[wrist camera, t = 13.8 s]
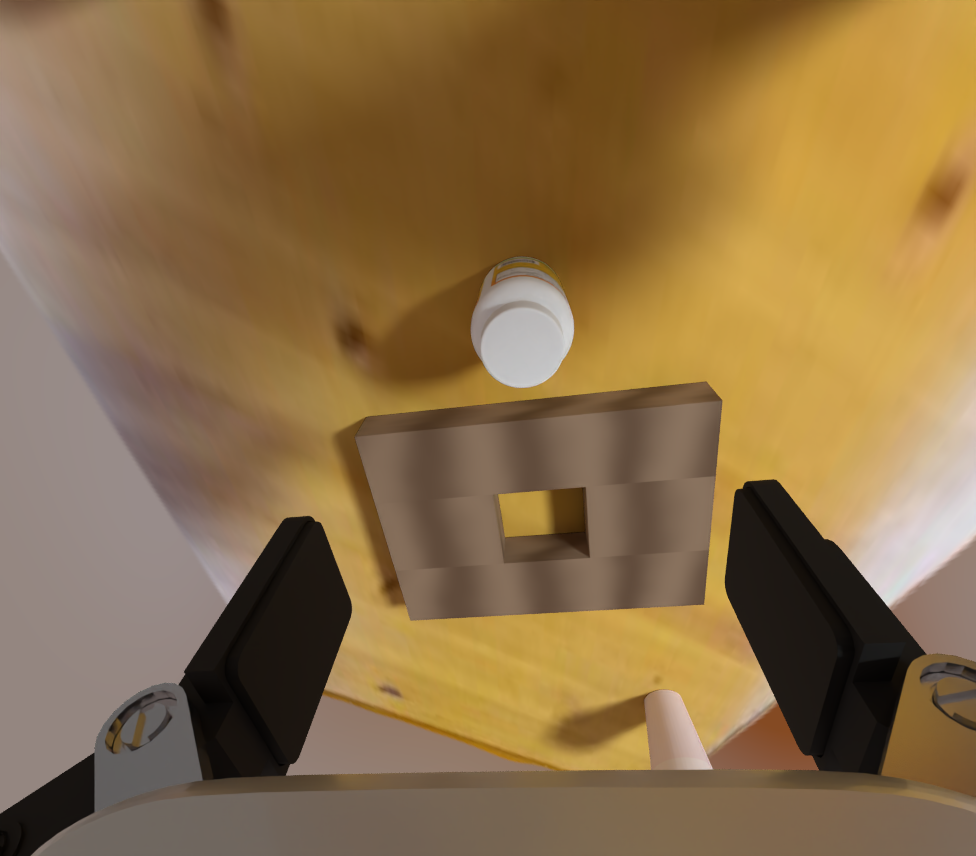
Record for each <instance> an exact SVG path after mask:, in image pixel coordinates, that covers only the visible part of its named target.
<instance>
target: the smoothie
mask: <svg viewBox="0 0 976 856" xmlns="http://www.w3.org/2000/svg"><path fill="white" fill-rule="evenodd" d="M644 705H645V714H646V724H647V734H648V743H649V753H650V763H651V770H707V769H713V768H712V766H711V764H710V762H709V759H708V757H707V755H706V753H705V750H704V748H703V746H702V744H701V741H700V739H699V737H698V734H697V732H696V730H695V728H694V725H693V723H692V721H691V719H690V716H689V714H688V712H687V709H686V707H685V705H684V703H683V700H682V698H681V696H680V695H679V694H678V693H676V692H674V691H671V690H657V691H654V692H652V693H650V694H648V695H647V696H646V698H645V700H644Z"/></svg>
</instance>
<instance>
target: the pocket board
mask: <svg viewBox="0 0 976 856" xmlns="http://www.w3.org/2000/svg"><path fill="white" fill-rule="evenodd" d="M721 410H722V400H721V398H720V397H719V396H718V395H717V394H716V392H715V391H714V390H713V389H712V388H711V387H710V385H709V384H708V383H707V382H699V383H689V384H679V385H670V386H660V387H650V388H641V389H631V390H621V391H612V392H602V393H593V394H583V395H573V396H564V397H554V398H544V399H535V400H525V401H515V402H506V403H496V404H486V405H477V406H467V407H457V408H448V409H438V410H428V411H419V412H409V413H399V414H390V415H380V416H370V417H366V418H365V420H364V422H363V424H362V425H361V427H360V429H359V430H358V432H357V434H356V435H355V440H356V443H357V447H358V450H359V453H360V457H361V460H362V463H363V466H364V470H365V473H366V476H367V479H368V483H369V486H370V489H371V493H372V496H373V499H374V502H375V506H376V509H377V512H378V515H379V519H380V522H381V525H382V529H383V532H384V535H385V538H386V542H387V545H388V548H389V551H390V555H391V558H392V561H393V565H394V568H395V571H396V574H397V578H398V581H399V584H400V587H401V591H402V594H403V597H404V601H405V604H406V607H407V610H408V614H409V617H410V620H429V619H447V618H466V617H484V616H502V615H521V614H539V613H558V612H576V611H594V610H613V609H631V608H650V607H668V606H686V605H704V599H705V588H706V577H707V566H708V555H709V544H710V532H711V521H712V510H713V499H714V488H715V477H716V466H717V455H718V444H719V433H720V421H721ZM578 487H583V502H584V518H585V532H577V533H563V534H549V535H536V536H522V537H508V538H505V535H504V529H503V523H502V517H501V510H500V504H499V498H498V494H506V493H518V492H530V491H542V490H554V489H566V488H578Z"/></svg>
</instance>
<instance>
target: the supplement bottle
mask: <svg viewBox="0 0 976 856" xmlns="http://www.w3.org/2000/svg"><path fill="white" fill-rule="evenodd" d="M573 335H574V320H573V316H572V312H571V308H570V306H569V303H568V301H567V298H566V295H565V292H564V289H563V287H562V284H561V282H560V280H559V278H558V276H557V275H556V273H555V272H554V271H553V270H552V269H551V268H550V267H549V266H548V265H547V264H545V263H544V262H542V261H540V260H537V259H534V258H531V257H513V258H510V259H507V260H504V261H502V262H501V263H499V264H497V265H496V266H495V267H494V268H493V269H492V270H491V271H490V272H489V273H488V274H487V276H486V277H485V279H484V281H483V283H482V285H481V288H480V292H479V295H478V299H477V302H476V305H475V308H474V312H473V315H472V321H471V338H472V343H473V346H474V349H475V351H476V353H477V355H478V356H479V358H480V359H481V360H482V362H483V364H484V366H485V368H486V369H487V371H488V372H489V373H490V375H491V376H492V377H494V378H495V379H496V380H497V381H499V382H501V383H502V384H505V385H507V386H511V387H516V388H527V387H532V386H536V385H538V384H541V383H543V382H544V381H546V380H547V379H549V378H550V377H551V376H552V375H553V374H554V373H555V372H556V371H557V369H558V368H559V366H560V364H561V362H562V360H563V359H564V358H565V356H566V355H567V353H568V351H569V349H570V347H571V344H572V341H573Z"/></svg>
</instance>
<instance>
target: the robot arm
mask: <svg viewBox="0 0 976 856" xmlns="http://www.w3.org/2000/svg"><path fill="white" fill-rule="evenodd" d="M725 588H726V593H727V596H728V598H729V601H730V603H731V605H732V607H733V609H734V611H735V613H736V615H737V618H738V620H739V622H740V624H741V626H742V628H743V630H744V632H745V635H746V637H747V639H748V641H749V643H750V645H751V647H752V649H753V652H754V654H755V656H756V658H757V660H758V662H759V664H760V666H761V669H762V671H763V673H764V675H765V677H766V679H767V681H768V683H769V686H770V688H771V690H772V692H773V694H774V696H775V698H776V700H777V703H778V705H779V707H780V709H781V711H782V713H783V715H784V717H785V719H786V721H787V724H788V726H789V728H790V730H791V732H792V734H793V736H794V738H795V741H796V743H797V745H798V747H799V749H800V750H801V752H802V753H803V754H804V755H812V756H813V758H814V760H815V763H816V765H817V767H818V769H819V771H816V770H730V769H728V770H726V769H707V770H585V771H511V772H509V771H507V772H444V773H443V772H439V773H383V774H334V775H332V774H331V775H293V776H286V773H287V771H288V768H289V765H290V764H293V763H295V762H296V761H297V759H298V758H299V755H300V753H301V750H302V748H303V745H304V742H305V739H306V737H307V734H308V731H309V729H310V726H311V723H312V721H313V718H314V715H315V712H316V710H317V707H318V704H319V702H320V699H321V696H322V693H323V691H324V688H325V685H326V683H327V680H328V677H329V675H330V672H331V669H332V666H333V664H334V661H335V658H336V656H337V653H338V650H339V647H340V645H341V642H342V639H343V637H344V634H345V631H346V629H347V626H348V623H349V620H350V618H351V613H352V604H351V600H350V597H349V595H348V592H347V589H346V587H345V584H344V582H343V579H342V576H341V574H340V571H339V568H338V566H337V563H336V561H335V558H334V555H333V553H332V550H331V547H330V545H329V542H328V539H327V537H326V534H325V532H324V529H323V526H322V524H321V523H320V522H315V520H314V519H313V518H312V517H311V516H303V517H290V518H286V519H284V520H283V521H282V523H281V524H280V526H279V527H278V529H277V530H276V532H275V533H274V535H273V536H272V538H271V539H270V541H269V542H268V544H267V546H266V547H265V549H264V550H263V552H262V553H261V555H260V556H259V558H258V559H257V561H256V562H255V564H254V565H253V567H252V568H251V570H250V571H249V573H248V575H247V576H246V578H245V579H244V581H243V582H242V584H241V585H240V587H239V588H238V590H237V591H236V593H235V594H234V596H233V597H232V599H231V600H230V602H229V604H228V605H227V607H226V608H225V610H224V611H223V613H222V614H221V616H220V617H219V619H218V620H217V622H216V624H215V625H214V627H213V628H212V630H211V631H210V633H209V634H208V636H207V637H206V639H205V640H204V642H203V643H202V645H201V646H200V648H199V650H198V651H197V652H196V654H195V655H194V657H193V659H192V660H191V662H190V663H189V665H188V666H187V668H186V669H185V671H184V673H185V676H184V677H183V679H182V680H181V682H180V683H179V685H177V684H175V683H163V684H159V685H154V686H151V687H149V688H147V689H145V690H143V691H140V692H139V693H137V694H136V695H134V696H133V697H131V698H130V699H128V700H127V701H126V702H124V704H122V705H121V706H120V707H119V708H118V709H117V710H115V711H114V712H113V714H112V715H111V716H110V717H109V719H108V720H107V721H106V722H105V723H104V725H103V727H102V729H101V730H100V732H99V734H98V736H97V739H96V744H95V753H93V754H92V755H90V756H88V757H87V758H85V759H84V760H82V761H81V762H79V763H78V764H76V765H75V766H73V767H72V768H70V769H68V770H67V771H65V772H64V773H62V774H61V775H59V776H58V777H56V778H55V779H53V780H52V781H50V782H48V783H47V784H46V785H44V786H42V787H41V788H39V789H38V790H36V791H35V792H33V793H32V794H30V795H28V796H27V797H25V798H24V799H22V800H21V801H20V802H18V803H16V804H15V805H13V806H12V807H10V808H8V809H7V810H5V811H4V812H3V813H1V814H0V856H976V662H974V661H970V660H967V659H964V658H961V657H958V656H953V655H945V654H929V655H927V654H926V653H925V652H924V651H923V649H922V648H921V647H920V646H919V644H918V643H917V642H916V641H915V640H914V638H913V637H912V636H911V635H910V633H909V632H908V631H907V630H906V629H905V627H904V626H903V625H902V624H901V622H900V621H899V620H898V619H897V618H896V616H895V615H894V614H893V613H892V611H891V610H890V609H889V608H888V606H887V605H886V604H885V603H884V602H883V600H882V599H881V598H880V597H879V595H878V594H877V593H876V592H875V591H874V589H873V588H872V587H871V586H870V584H869V583H868V582H867V581H866V580H865V578H864V577H863V576H862V575H861V573H860V572H859V571H858V570H857V568H856V567H855V566H854V565H853V564H852V562H851V561H850V560H849V559H848V557H847V556H846V555H845V554H844V553H843V551H842V550H841V549H840V548H839V547H838V546H837V545H836V544H835V543H834V542H833V541H830V540H828V539H824V538H823V537H822V536H821V535H820V533H819V532H818V531H817V529H816V528H815V527H814V526H813V524H812V523H811V522H810V521H809V519H808V518H807V517H806V516H805V514H804V513H803V512H802V511H801V509H800V508H799V507H798V506H797V504H796V503H795V502H794V501H793V499H792V498H791V497H790V495H789V494H788V493H787V492H786V490H785V489H784V488H783V487H782V485H781V484H780V483H779V482H778V481H777V480H774V479H773V480H760V481H748V482H745V484H744V486H743V489H737V490H736V492H735V496H734V504H733V513H732V522H731V530H730V539H729V548H728V556H727V565H726V574H725Z"/></svg>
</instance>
